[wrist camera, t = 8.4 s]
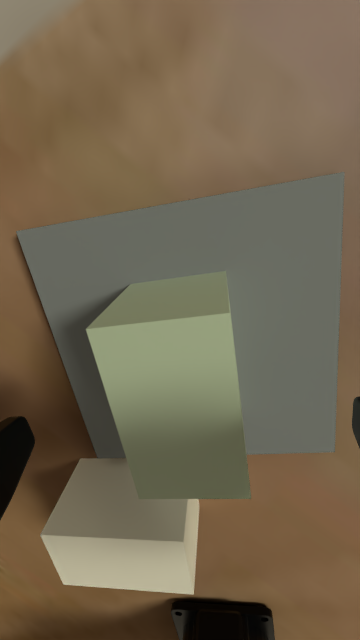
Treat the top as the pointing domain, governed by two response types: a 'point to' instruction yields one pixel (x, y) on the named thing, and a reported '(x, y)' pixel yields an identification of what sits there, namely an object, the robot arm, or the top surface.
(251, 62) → the top surface
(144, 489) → the brick sage
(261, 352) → the coaster
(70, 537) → the brick cream
